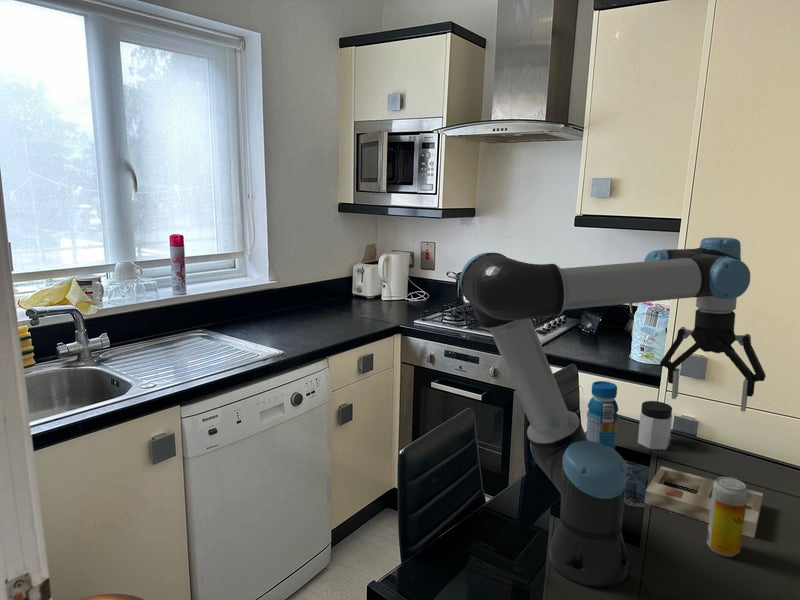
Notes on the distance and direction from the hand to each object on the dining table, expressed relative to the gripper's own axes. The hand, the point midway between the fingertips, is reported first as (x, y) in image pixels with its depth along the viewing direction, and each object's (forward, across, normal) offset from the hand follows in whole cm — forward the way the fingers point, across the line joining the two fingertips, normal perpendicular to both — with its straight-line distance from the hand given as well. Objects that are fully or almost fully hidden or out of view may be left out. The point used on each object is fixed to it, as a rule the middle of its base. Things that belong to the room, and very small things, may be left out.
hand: (707, 403), depth 125 cm
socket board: (+27, 0, -5) cm, 28 cm away
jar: (+28, +18, -34) cm, 47 cm away
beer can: (+27, -6, +11) cm, 30 cm away
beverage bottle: (+27, +29, -20) cm, 44 cm away
